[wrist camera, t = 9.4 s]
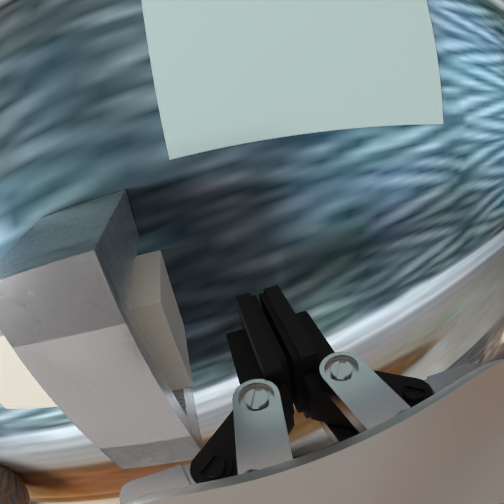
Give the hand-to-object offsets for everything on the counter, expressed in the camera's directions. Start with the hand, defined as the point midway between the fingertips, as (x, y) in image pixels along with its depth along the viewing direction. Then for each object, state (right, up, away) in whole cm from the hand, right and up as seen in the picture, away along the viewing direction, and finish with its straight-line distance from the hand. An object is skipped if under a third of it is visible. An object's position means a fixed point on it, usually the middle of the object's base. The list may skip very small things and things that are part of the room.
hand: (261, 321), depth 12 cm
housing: (-7, 0, +1) cm, 7 cm away
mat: (+3, +11, -1) cm, 12 cm away
